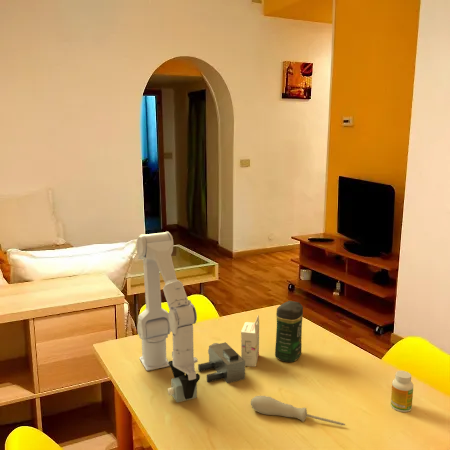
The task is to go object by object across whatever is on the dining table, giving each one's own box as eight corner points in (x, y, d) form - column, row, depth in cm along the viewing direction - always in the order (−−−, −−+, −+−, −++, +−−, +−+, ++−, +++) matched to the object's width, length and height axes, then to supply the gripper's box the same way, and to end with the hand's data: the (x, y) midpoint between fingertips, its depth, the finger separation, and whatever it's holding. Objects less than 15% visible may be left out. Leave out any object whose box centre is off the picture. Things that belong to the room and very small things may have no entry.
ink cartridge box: (244, 353, 158) (244, 312, 155) (259, 355, 157) (259, 313, 154) (240, 365, 149) (240, 322, 146) (255, 367, 148) (256, 324, 146)
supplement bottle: (409, 415, 123) (412, 381, 121) (388, 408, 126) (390, 375, 124) (413, 405, 127) (416, 372, 126) (393, 399, 130) (395, 367, 128)
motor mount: (192, 363, 151) (192, 343, 150) (223, 356, 155) (223, 337, 154) (211, 387, 137) (211, 365, 135) (245, 379, 141) (245, 357, 140)
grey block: (166, 396, 132) (166, 380, 131) (191, 390, 135) (190, 374, 134) (171, 404, 128) (171, 387, 127) (196, 397, 131) (196, 381, 130)
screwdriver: (344, 438, 117) (345, 426, 115) (248, 413, 124) (248, 402, 123) (346, 423, 121) (347, 411, 119) (253, 401, 129) (253, 389, 127)
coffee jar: (294, 365, 150) (296, 310, 146) (271, 359, 153) (273, 306, 150) (304, 353, 158) (306, 301, 154) (282, 348, 162) (284, 297, 158)
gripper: (206, 354, 124) (206, 400, 127) (187, 334, 137) (188, 376, 140) (181, 360, 121) (182, 407, 124) (164, 338, 134) (166, 381, 137)
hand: (184, 391), depth 132 cm, fingers open, 7 cm apart
